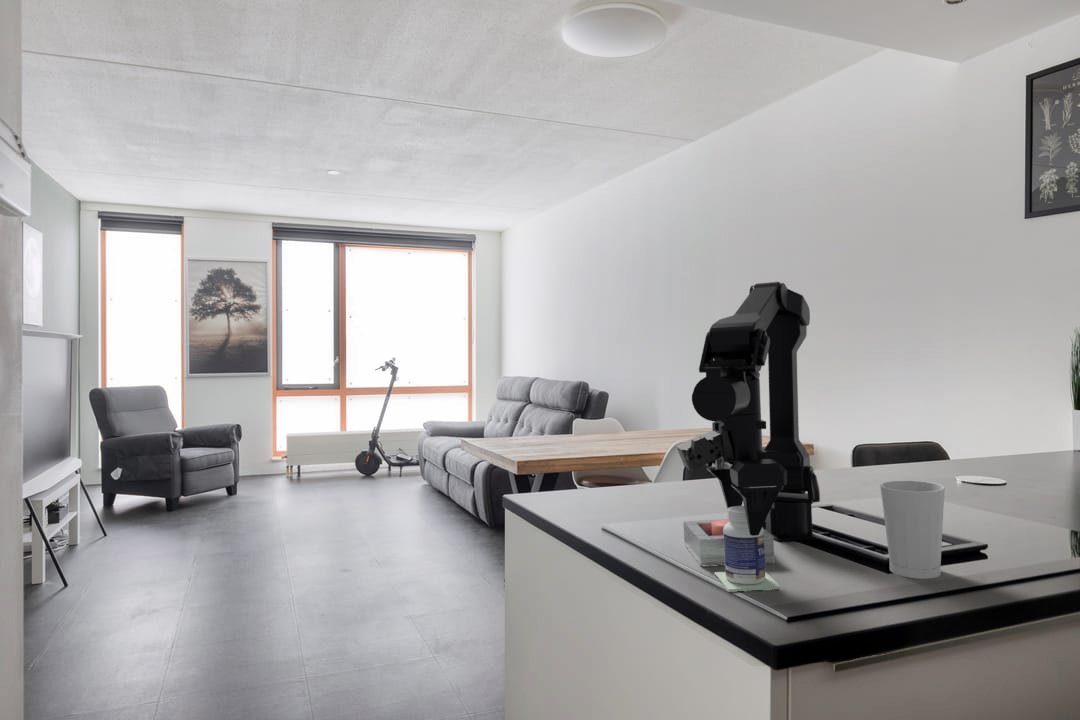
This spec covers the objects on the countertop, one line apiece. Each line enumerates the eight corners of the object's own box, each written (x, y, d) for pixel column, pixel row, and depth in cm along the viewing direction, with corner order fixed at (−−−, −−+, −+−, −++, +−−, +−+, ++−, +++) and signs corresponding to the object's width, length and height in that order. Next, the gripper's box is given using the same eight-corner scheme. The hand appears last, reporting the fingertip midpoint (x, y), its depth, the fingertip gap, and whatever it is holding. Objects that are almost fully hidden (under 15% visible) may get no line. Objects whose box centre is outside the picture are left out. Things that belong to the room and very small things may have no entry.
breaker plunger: (736, 540, 112) (735, 519, 112) (745, 548, 108) (744, 526, 108) (709, 541, 112) (708, 521, 112) (716, 549, 108) (715, 528, 107)
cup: (871, 564, 102) (868, 482, 101) (923, 560, 102) (921, 478, 102) (904, 582, 94) (901, 493, 94) (961, 578, 94) (958, 489, 94)
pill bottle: (768, 586, 94) (765, 513, 93) (726, 585, 95) (723, 513, 95) (763, 572, 99) (760, 504, 99) (724, 572, 100) (721, 504, 100)
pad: (763, 572, 100) (763, 569, 100) (780, 589, 93) (780, 586, 93) (714, 575, 100) (714, 572, 100) (728, 592, 93) (728, 589, 93)
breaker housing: (751, 542, 115) (750, 518, 115) (774, 562, 104) (773, 536, 104) (684, 545, 115) (683, 521, 115) (700, 566, 104) (699, 539, 104)
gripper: (667, 409, 105) (671, 513, 106) (696, 423, 87) (701, 548, 87) (741, 406, 106) (745, 509, 106) (786, 419, 87) (791, 544, 87)
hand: (743, 526), depth 96 cm, fingers open, 9 cm apart
